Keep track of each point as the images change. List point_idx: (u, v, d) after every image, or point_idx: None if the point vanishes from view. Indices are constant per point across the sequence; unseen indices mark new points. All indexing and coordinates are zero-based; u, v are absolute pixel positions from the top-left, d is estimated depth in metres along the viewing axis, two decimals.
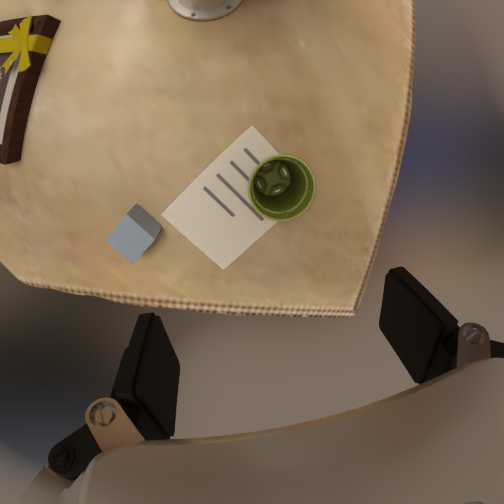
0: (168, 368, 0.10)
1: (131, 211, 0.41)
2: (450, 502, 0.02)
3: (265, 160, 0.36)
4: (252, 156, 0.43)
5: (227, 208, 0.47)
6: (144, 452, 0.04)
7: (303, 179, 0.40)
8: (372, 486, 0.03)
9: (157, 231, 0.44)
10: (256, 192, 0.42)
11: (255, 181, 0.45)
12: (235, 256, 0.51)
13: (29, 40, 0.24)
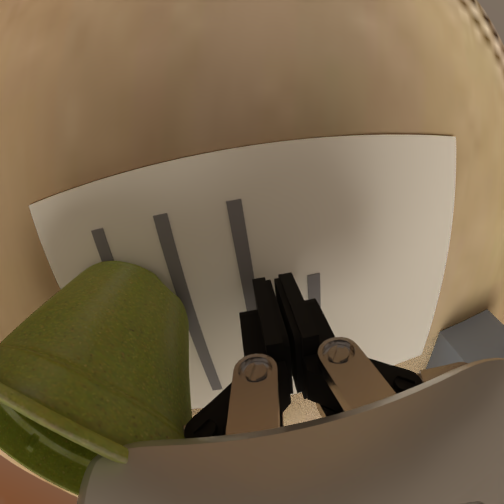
0: None
1: None
2: (450, 502, 0.02)
3: None
4: None
5: None
6: (144, 452, 0.04)
7: None
8: (372, 486, 0.03)
9: (459, 360, 0.14)
10: None
11: None
12: (407, 142, 0.11)
13: None
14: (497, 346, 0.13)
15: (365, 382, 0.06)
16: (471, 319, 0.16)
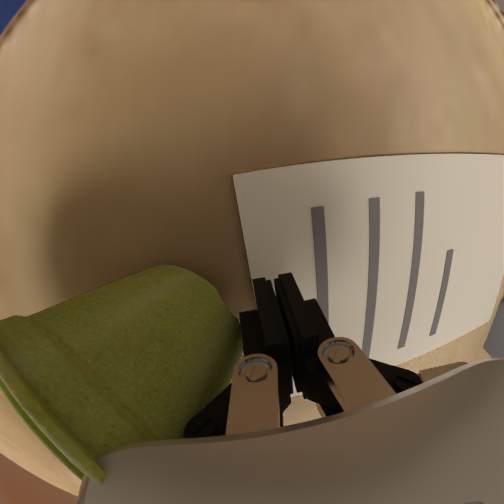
0: None
1: None
2: (450, 502, 0.02)
3: None
4: None
5: (444, 274, 0.15)
6: (144, 452, 0.04)
7: None
8: (372, 486, 0.03)
9: None
10: None
11: None
12: (498, 160, 0.12)
13: None
14: None
15: (365, 382, 0.06)
16: None
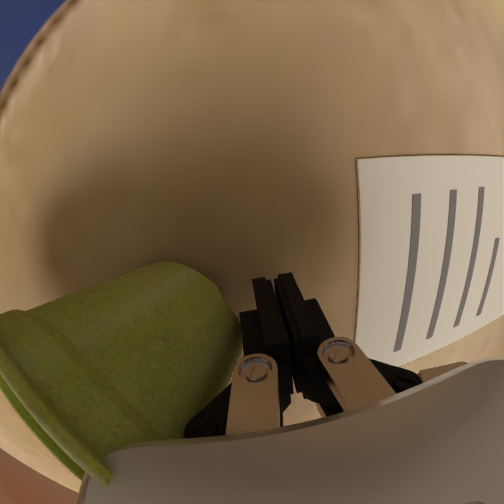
0: None
1: None
2: (450, 502, 0.02)
3: None
4: (401, 331, 0.16)
5: (492, 259, 0.15)
6: (144, 452, 0.04)
7: None
8: (372, 486, 0.03)
9: None
10: None
11: None
12: None
13: None
14: None
15: (365, 382, 0.06)
16: None
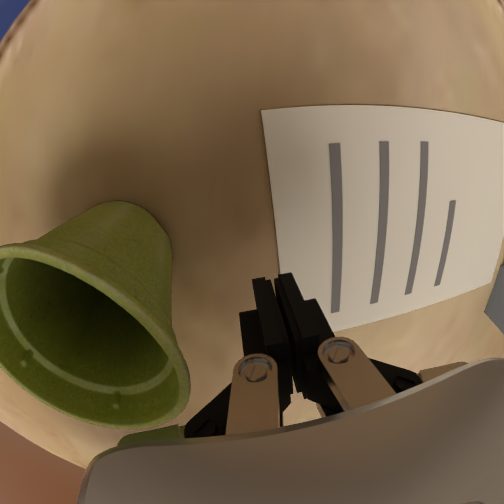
0: None
1: None
2: (450, 502, 0.02)
3: (94, 422, 0.10)
4: (336, 290, 0.18)
5: (448, 223, 0.16)
6: (144, 452, 0.04)
7: (15, 285, 0.09)
8: (372, 486, 0.03)
9: None
10: None
11: None
12: (496, 125, 0.13)
13: None
14: None
15: (365, 382, 0.06)
16: None
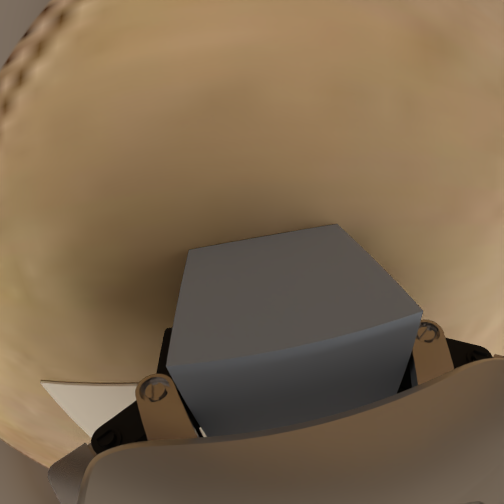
0: None
1: None
2: (450, 502, 0.02)
3: None
4: None
5: None
6: (144, 452, 0.04)
7: None
8: (372, 486, 0.03)
9: None
10: None
11: None
12: (68, 411, 0.15)
13: None
14: None
15: (437, 364, 0.06)
16: None
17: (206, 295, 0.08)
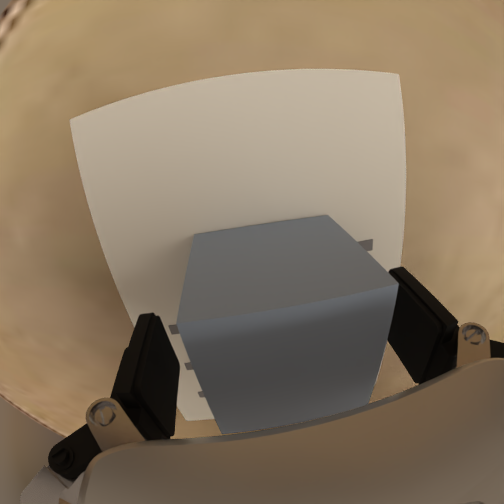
0: (168, 368, 0.10)
1: None
2: (450, 502, 0.02)
3: None
4: None
5: None
6: (144, 452, 0.04)
7: None
8: (372, 486, 0.03)
9: None
10: None
11: None
12: (91, 189, 0.11)
13: None
14: None
15: None
16: None
17: (211, 269, 0.09)
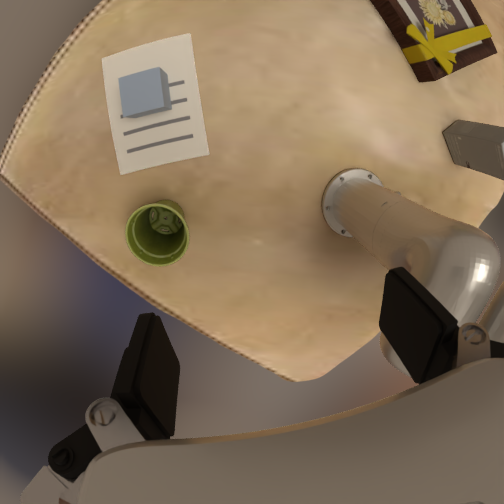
0: (168, 368, 0.10)
1: (165, 108, 0.34)
2: (450, 502, 0.02)
3: (188, 239, 0.38)
4: (181, 138, 0.40)
5: None
6: (144, 452, 0.04)
7: (152, 251, 0.41)
8: (372, 486, 0.03)
9: (131, 117, 0.35)
10: (164, 203, 0.41)
11: None
12: (105, 75, 0.34)
13: (428, 52, 0.31)
14: None
15: None
16: None
17: None
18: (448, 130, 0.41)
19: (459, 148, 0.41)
